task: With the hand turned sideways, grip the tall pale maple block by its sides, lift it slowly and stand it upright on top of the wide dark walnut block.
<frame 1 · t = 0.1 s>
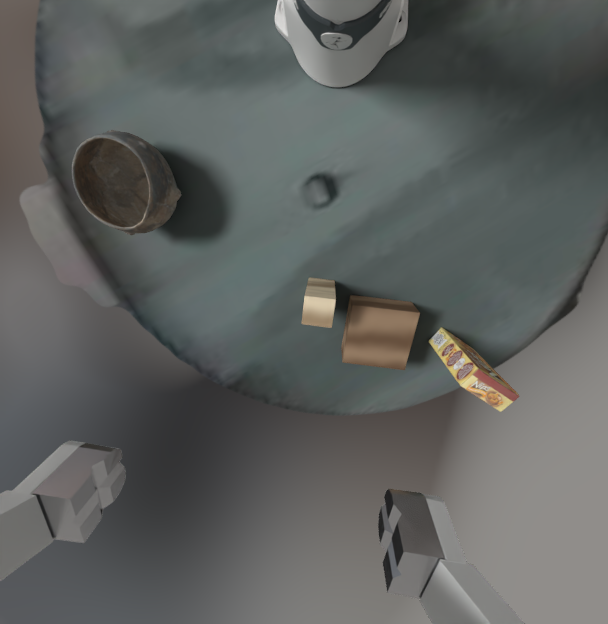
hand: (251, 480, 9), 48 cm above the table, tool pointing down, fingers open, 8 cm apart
walnut block: (374, 325, 59), on the table
maple block: (320, 291, 56), on the table
bowl: (149, 185, 52), on the table
candy box: (450, 343, 59), on the table
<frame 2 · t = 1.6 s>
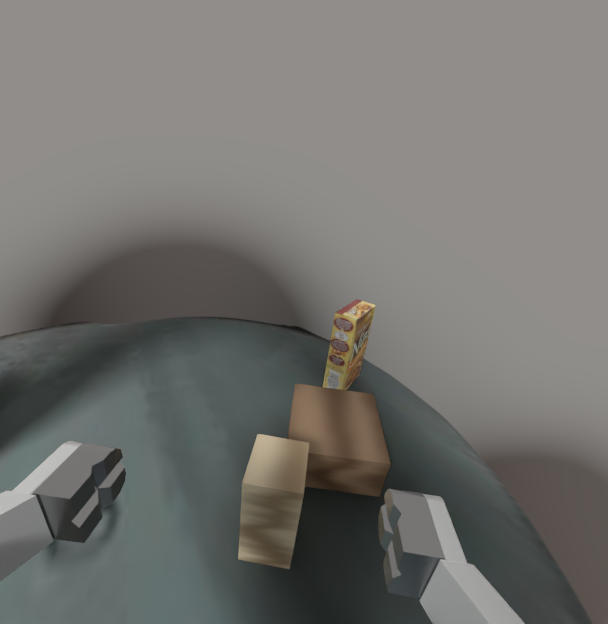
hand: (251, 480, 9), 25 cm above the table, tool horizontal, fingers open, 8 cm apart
walnut block: (329, 450, 40), on the table
maple block: (269, 535, 29), on the table
candy box: (341, 381, 55), on the table
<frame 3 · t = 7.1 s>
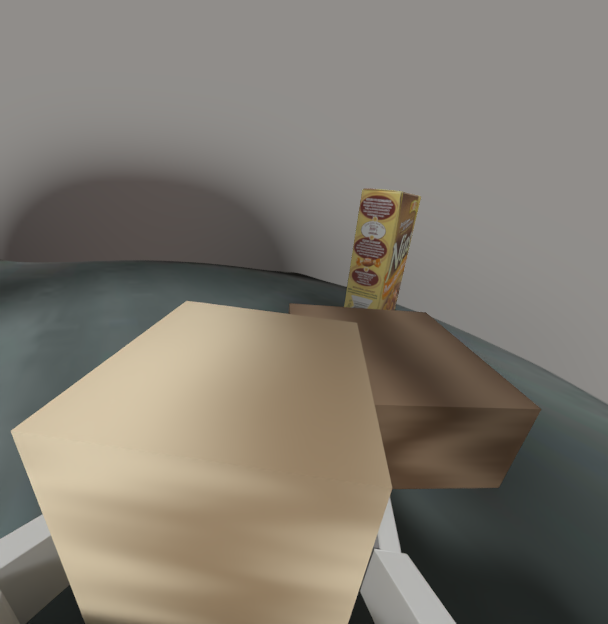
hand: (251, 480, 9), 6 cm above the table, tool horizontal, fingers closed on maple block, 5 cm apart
walnut block: (366, 413, 21), on the table
maple block: (239, 620, 10), on the table, touching gripper
candy box: (367, 325, 36), on the table
when the fingers open (13 cm above the table, at t = 14.1 s): maple block drops 2 cm, resting on walnut block.
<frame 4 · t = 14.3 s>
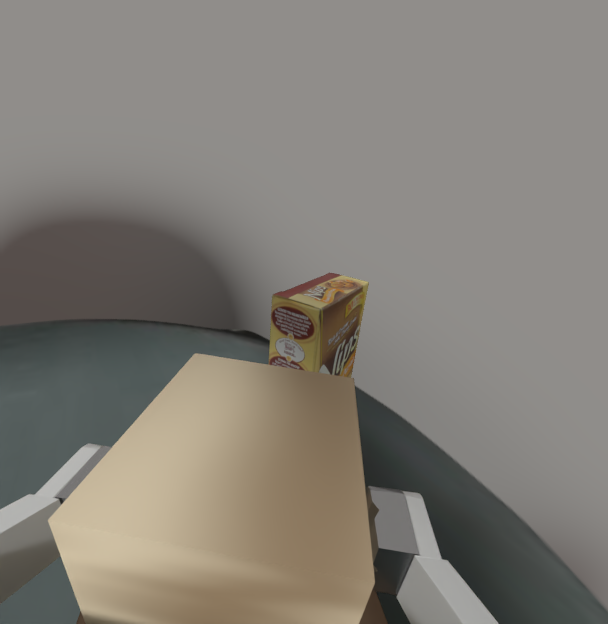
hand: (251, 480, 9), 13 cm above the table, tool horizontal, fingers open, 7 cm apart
candy box: (306, 437, 28), on the table
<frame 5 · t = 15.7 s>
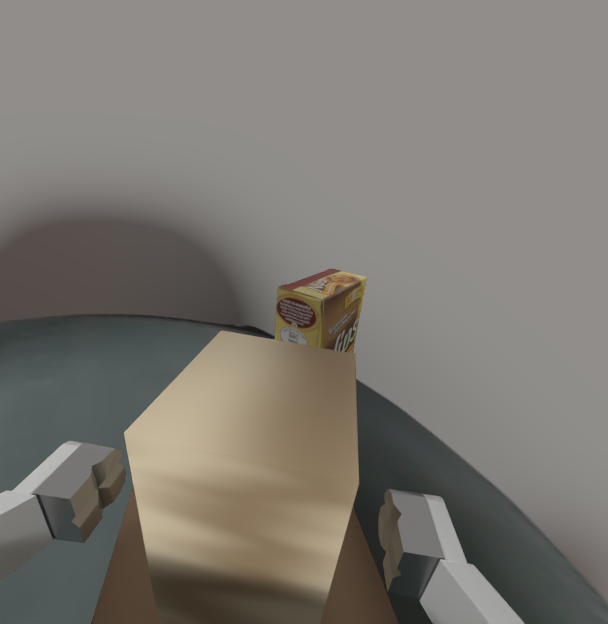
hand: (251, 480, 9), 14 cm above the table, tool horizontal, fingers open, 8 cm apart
maple block: (252, 588, 12), point 6 cm above the table, touching walnut block
candy box: (307, 423, 30), on the table
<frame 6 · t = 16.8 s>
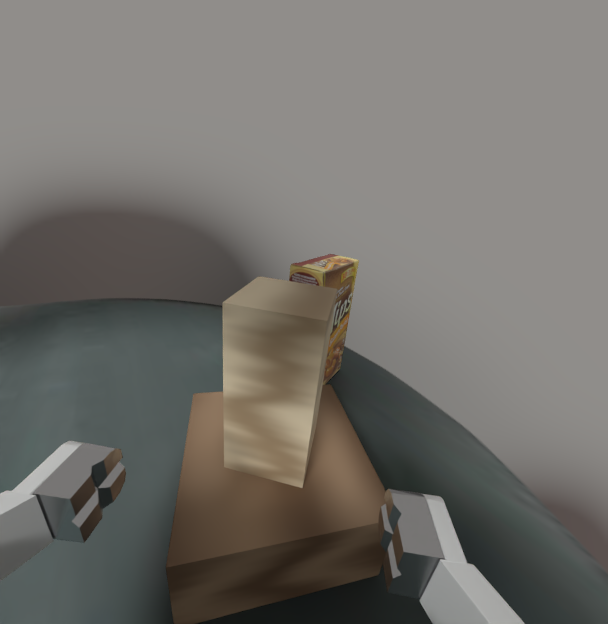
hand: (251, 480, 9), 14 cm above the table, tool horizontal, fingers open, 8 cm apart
walnut block: (271, 501, 22), on the table, touching maple block
maple block: (274, 445, 20), point 6 cm above the table, touching walnut block
candy box: (311, 379, 37), on the table
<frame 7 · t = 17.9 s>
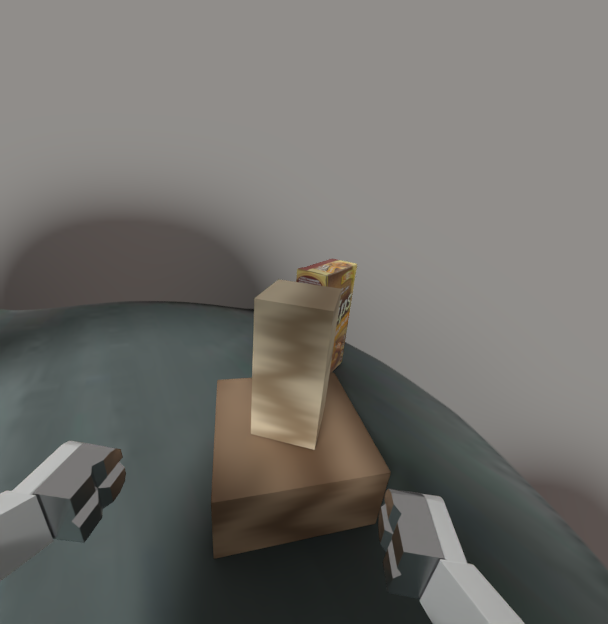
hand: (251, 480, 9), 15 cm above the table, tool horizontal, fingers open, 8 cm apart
walnut block: (285, 469, 26), on the table
maple block: (290, 418, 24), point 6 cm above the table
candy box: (316, 372, 41), on the table
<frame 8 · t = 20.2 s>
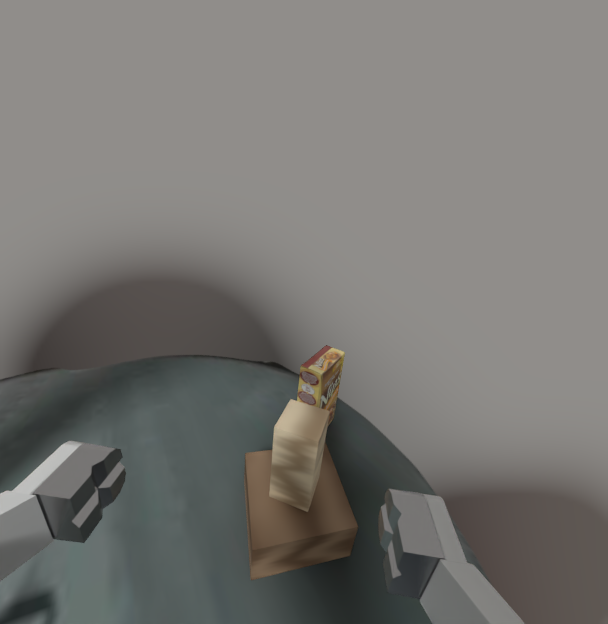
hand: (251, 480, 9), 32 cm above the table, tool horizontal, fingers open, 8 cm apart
walnut block: (291, 516, 39), on the table
maple block: (295, 486, 36), point 6 cm above the table
candy box: (313, 428, 53), on the table
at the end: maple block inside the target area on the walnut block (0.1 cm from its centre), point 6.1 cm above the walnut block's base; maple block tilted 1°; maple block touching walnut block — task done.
